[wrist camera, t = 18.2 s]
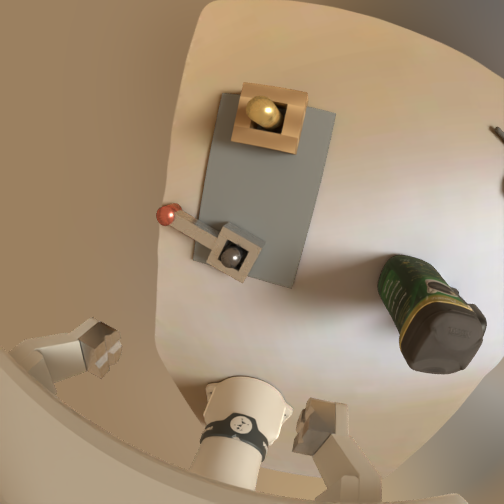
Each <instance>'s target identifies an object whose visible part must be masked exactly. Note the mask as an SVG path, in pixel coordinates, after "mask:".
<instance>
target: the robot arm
mask: <svg viewBox="0 0 504 504" xmlns="http://www.w3.org/2000/svg"><path fill="white" fill-rule="evenodd" d="M120 339H121V335H120V332H119V331H118V330H116V329H114V328H112V327H110V326H108V325H107V324H105V323H103V322H101V321H99V320H97V319H95V318H94V317H92V318H89V319H88V320H86V321H85V322H84V323H83V324H81V325H80V326H79V327H77V328H76V329H75V330H73V331H72V332H71V333H70V334H68V333H63V334H57V335H51V336H45V337H39V338H33V339H26V340H24V341H23V342H21V343H20V344H19V345H17V346H16V347H15V348H13V349H12V350H11V351H9V352H7V351H5V349H4V348H3V347H2V346H1V345H0V504H468V502H467V501H465V499H464V498H462V497H461V496H460V495H459V494H455V493H454V494H447V495H442V496H436V497H430V498H424V499H417V500H408V501H398V502H382V489H381V475H380V474H379V473H378V471H377V470H376V469H375V467H374V466H373V465H372V463H371V462H370V461H369V459H368V458H367V457H366V455H365V454H364V453H363V451H362V450H361V448H360V447H359V446H358V444H357V443H356V442H355V440H354V439H353V437H351V436H348V406H347V404H343V403H337V402H332V401H326V400H321V399H316V398H311V397H310V398H309V399H308V401H307V403H306V408H305V409H303V410H302V412H301V414H300V416H299V419H298V422H297V426H296V431H297V433H298V434H297V436H296V437H295V439H294V444H293V450H292V452H295V453H300V454H305V455H310V456H312V457H313V460H314V462H315V464H316V466H317V468H318V470H319V472H320V474H321V476H322V478H323V480H324V482H325V485H326V487H327V490H326V491H324V492H323V493H322V494H320V495H319V496H317V497H316V498H315V501H313V500H304V499H297V498H290V497H284V496H278V495H273V494H268V493H263V492H258V491H255V488H256V482H257V477H258V472H259V468H260V465H261V462H263V461H264V459H265V455H266V454H267V450H268V449H267V448H268V445H272V443H273V442H274V440H276V439H277V438H278V436H279V433H280V429H281V425H282V424H283V423H284V422H285V421H286V420H287V419H288V418H289V417H290V416H291V415H292V413H293V408H292V407H291V406H289V405H288V404H287V403H286V402H285V401H284V399H283V397H282V395H281V394H280V393H279V391H278V390H277V389H275V388H274V387H273V386H271V385H270V384H268V383H266V382H264V381H261V380H259V379H255V378H251V377H232V378H228V379H226V380H224V381H222V382H219V383H211V384H208V385H207V387H206V394H207V401H208V404H207V406H206V409H205V411H204V414H203V416H204V419H205V423H206V425H207V426H206V428H205V430H204V431H203V433H202V436H201V439H200V444H201V445H200V447H199V449H198V452H197V453H196V456H195V458H194V460H193V462H192V464H191V466H190V468H189V471H188V470H186V469H183V468H181V467H178V466H175V465H173V464H171V463H168V462H166V461H164V460H162V459H160V458H157V457H155V456H153V455H151V454H149V453H147V452H145V451H143V450H141V449H138V448H137V447H135V446H133V445H131V444H129V443H127V442H125V441H124V440H122V439H120V438H118V437H116V436H115V435H113V434H111V433H110V432H108V431H106V430H105V429H103V428H101V427H100V426H98V425H97V424H95V423H93V422H92V421H90V420H89V419H87V418H86V417H84V416H83V415H81V414H80V413H78V412H77V411H76V410H74V409H73V408H71V407H70V406H69V405H67V404H66V403H65V402H63V401H62V400H60V399H59V398H58V397H57V396H55V395H56V394H57V391H56V388H55V386H54V384H53V383H56V382H59V381H61V380H64V379H67V378H70V377H73V376H76V375H79V374H82V373H84V372H86V371H88V372H90V373H91V374H93V375H95V376H97V377H99V378H100V379H102V378H103V377H104V375H105V374H106V373H107V372H108V371H109V370H110V366H111V365H114V364H116V363H117V362H118V361H119V359H120V357H121V353H122V345H121V344H120V342H119V340H120Z"/></svg>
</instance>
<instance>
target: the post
mask: <svg viewBox="0 0 504 504" xmlns="http://www.w3.org/2000/svg"><path fill="white" fill-rule="evenodd" d="M246 252H247V250H246V249H244V248H242V247H240V246H239V245H237V244H235V243H233V244H232V245H231V246H230V247H229V248H228V249H227V250H226V251H225V252H224V253H223V254H222V255H221V263H222V264H223V265H224V266H225V267H227V268H234V267H235V266H236V265H237V264H238V263H239V262H240V260H241V259H242V258H243V256H244V255H245V254H246Z"/></svg>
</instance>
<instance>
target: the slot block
mask: <svg viewBox="0 0 504 504" xmlns="http://www.w3.org/2000/svg"><path fill="white" fill-rule="evenodd" d="M256 96H266V97H268V98H269V99H271V100H272V102H273V103H274V104H275V106H276V107H278V108H283V109H287V110H286V115H285V119H284V124H283V129H282V133H281V134H277V133H272V132H267V131H262V130H257V125H258V124H257V123H256V122H254V121H253V120H251V119H250V118H249V117H248V115H247V112H246V106H247V104H248V102H249V101H250V100H251V99H252V98H254V97H256ZM307 103H308V94H307V92H302V91H297V90H292V89H286V88H281V87H275V86H268V85H262V84H254V83H246V82H244V83H243V87H242V91H241V96H240V100H239V105H238V109H237V114H236V118H235V123H234V128H233V133H232V138H231V141H233V142H237V143H242V144H248V145H253V146H258V147H263V148H268V149H273V150H277V151H282V152H286V153H291V154H295V155H296V154H297V149H298V145H299V140H300V136H301V131H302V127H303V122H304V117H305V113H306V108H307Z"/></svg>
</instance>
